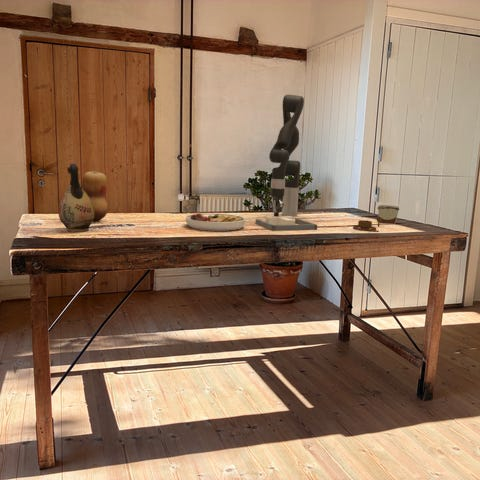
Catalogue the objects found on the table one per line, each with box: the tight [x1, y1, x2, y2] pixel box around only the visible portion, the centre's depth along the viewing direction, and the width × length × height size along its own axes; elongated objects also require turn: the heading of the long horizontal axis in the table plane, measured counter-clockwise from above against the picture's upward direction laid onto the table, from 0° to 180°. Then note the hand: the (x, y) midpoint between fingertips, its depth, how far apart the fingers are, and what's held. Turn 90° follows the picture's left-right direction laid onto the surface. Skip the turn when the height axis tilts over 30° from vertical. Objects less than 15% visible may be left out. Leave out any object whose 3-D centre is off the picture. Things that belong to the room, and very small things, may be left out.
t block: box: [265, 215, 295, 225], centre depth 252 cm, size 14×15×4 cm
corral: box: [255, 217, 318, 232], centre depth 249 cm, size 22×25×2 cm
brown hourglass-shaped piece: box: [81, 171, 109, 222], centre depth 240 cm, size 14×13×25 cm
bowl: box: [185, 212, 247, 232], centre depth 240 cm, size 30×30×8 cm
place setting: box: [352, 216, 382, 233], centre depth 252 cm, size 18×20×6 cm
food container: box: [377, 204, 400, 225], centre depth 277 cm, size 12×6×10 cm, turn 84°
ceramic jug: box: [57, 163, 95, 233], centre depth 213 cm, size 17×15×30 cm
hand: (276, 219), depth 260 cm, fingers closed
